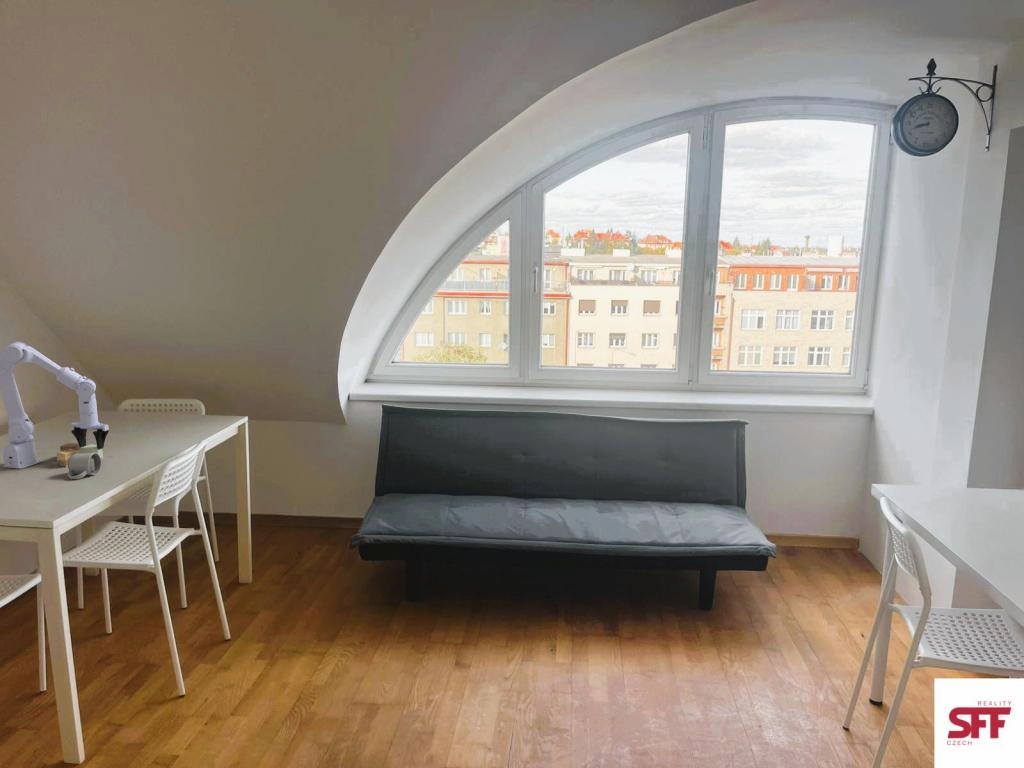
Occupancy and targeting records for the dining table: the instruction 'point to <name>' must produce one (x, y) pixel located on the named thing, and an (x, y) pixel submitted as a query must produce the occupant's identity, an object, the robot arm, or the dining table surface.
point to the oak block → (65, 456)
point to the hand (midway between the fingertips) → (91, 448)
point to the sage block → (92, 450)
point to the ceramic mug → (84, 465)
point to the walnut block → (71, 447)
